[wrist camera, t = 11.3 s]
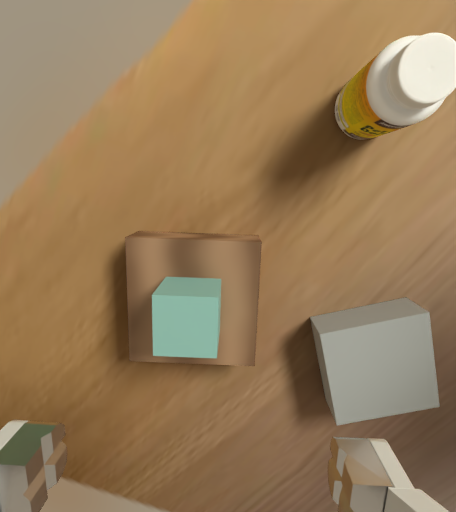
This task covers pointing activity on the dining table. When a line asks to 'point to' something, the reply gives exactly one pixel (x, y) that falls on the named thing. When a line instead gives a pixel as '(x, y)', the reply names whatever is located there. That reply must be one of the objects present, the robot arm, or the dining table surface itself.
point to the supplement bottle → (398, 86)
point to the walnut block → (195, 266)
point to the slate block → (376, 360)
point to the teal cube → (186, 317)
